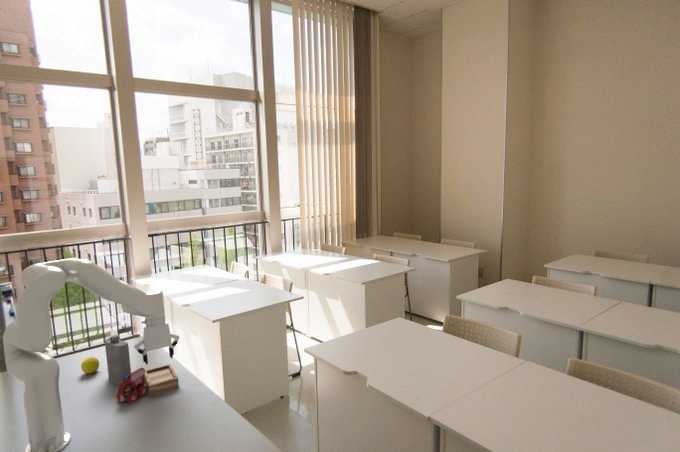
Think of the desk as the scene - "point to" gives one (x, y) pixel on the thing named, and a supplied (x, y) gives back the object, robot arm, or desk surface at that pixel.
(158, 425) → the desk surface
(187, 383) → the desk surface
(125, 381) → the toy fire truck
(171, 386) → the wooden tray
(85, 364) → the tennis ball
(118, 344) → the flask
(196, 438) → the desk surface
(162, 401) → the desk surface
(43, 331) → the robot arm
